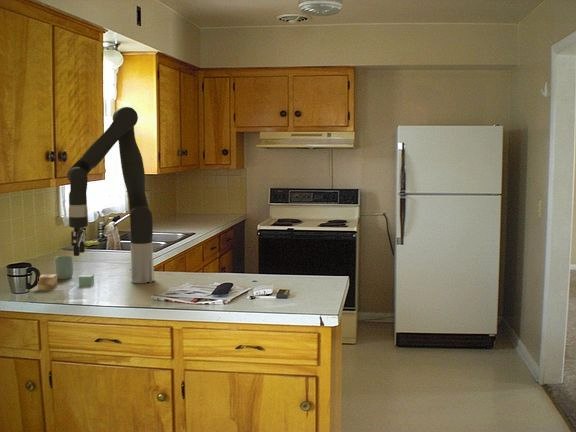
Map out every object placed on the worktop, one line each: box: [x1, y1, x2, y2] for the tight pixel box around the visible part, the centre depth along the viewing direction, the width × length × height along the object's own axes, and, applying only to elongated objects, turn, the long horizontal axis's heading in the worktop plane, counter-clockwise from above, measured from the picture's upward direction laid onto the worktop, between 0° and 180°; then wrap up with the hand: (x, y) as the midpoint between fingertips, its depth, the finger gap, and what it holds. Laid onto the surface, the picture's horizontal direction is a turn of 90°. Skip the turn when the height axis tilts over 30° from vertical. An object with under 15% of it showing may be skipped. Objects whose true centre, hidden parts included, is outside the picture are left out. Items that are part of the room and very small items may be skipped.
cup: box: [54, 255, 74, 280], centre depth 297 cm, size 8×8×10 cm
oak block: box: [37, 273, 58, 290], centre depth 276 cm, size 6×6×5 cm
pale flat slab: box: [29, 284, 76, 292], centre depth 276 cm, size 16×10×1 cm, turn 93°
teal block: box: [78, 274, 95, 287], centre depth 282 cm, size 5×5×5 cm
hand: (79, 254), depth 280 cm, fingers open, 8 cm apart
